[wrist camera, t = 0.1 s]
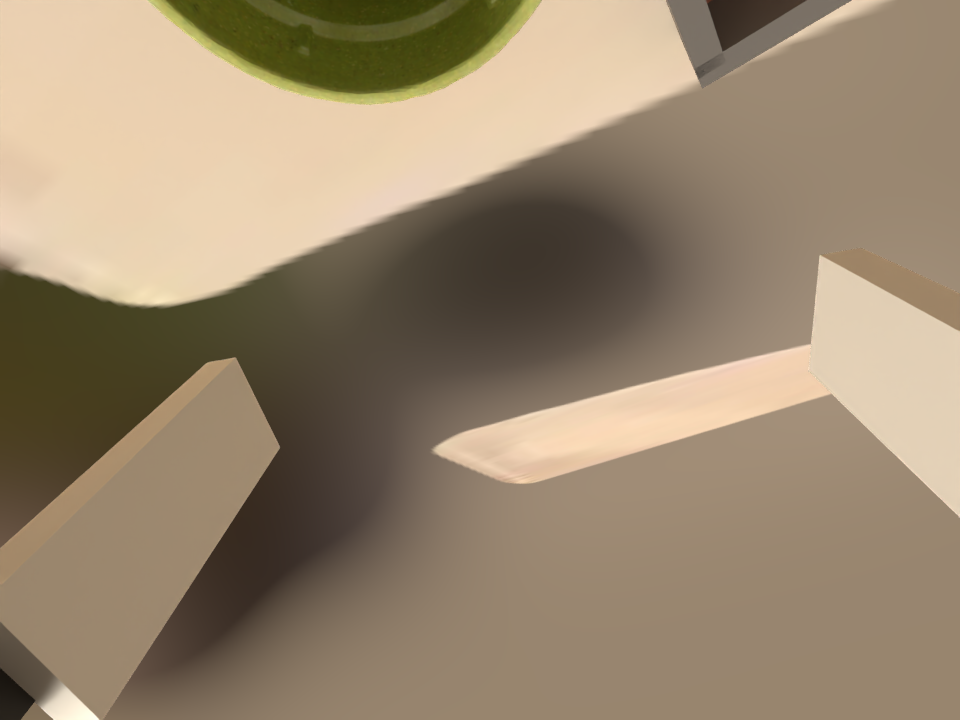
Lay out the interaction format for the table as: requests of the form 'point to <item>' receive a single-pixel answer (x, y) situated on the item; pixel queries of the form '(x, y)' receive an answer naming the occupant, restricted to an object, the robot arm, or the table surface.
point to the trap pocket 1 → (739, 29)
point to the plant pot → (352, 42)
